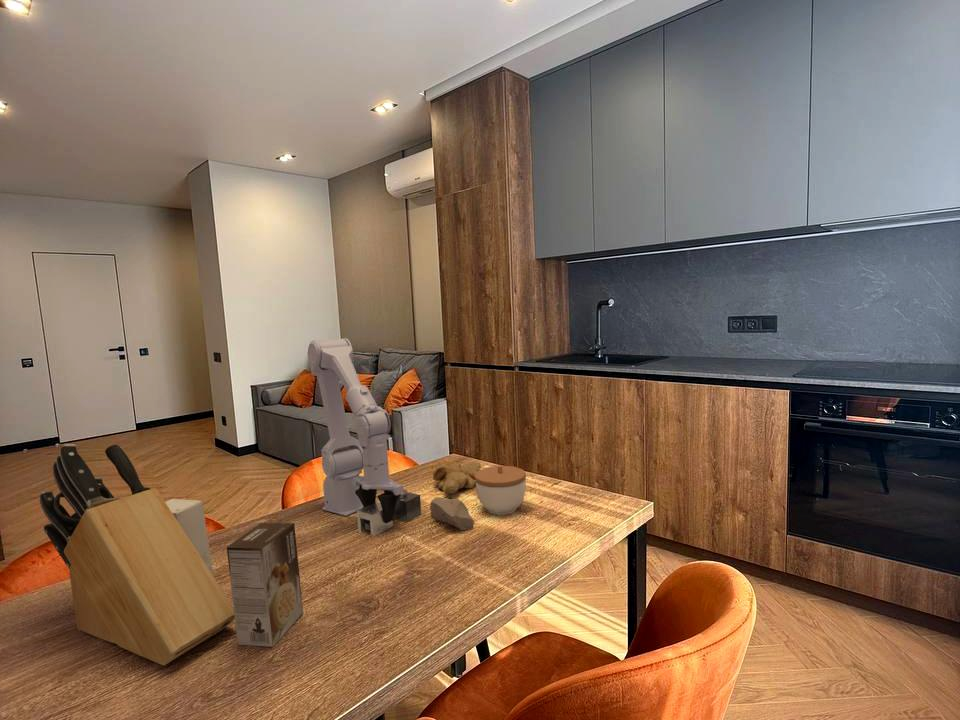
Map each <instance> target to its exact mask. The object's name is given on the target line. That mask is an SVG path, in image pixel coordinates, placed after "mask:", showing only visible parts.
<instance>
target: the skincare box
mask: <svg viewBox="0 0 960 720" xmlns="http://www.w3.org/2000/svg"><path fill="white" fill-rule="evenodd" d="M203 502H204V501H203V500H196V499H194V500H193V499H180V498H179V499H177V498H171V499H168V500H166V501H165V503H166V504H167V506H168V507H169V509H170V510H171V512H172V514H173V515H174V517H175V518H176V520H177V521H178V523H179V524H180V526H181V527H182V529H183V530H184V532H185V533H186V535H187V537H188V538H189V540H190V541H191V543H192V544H193V546H194V547H195V549H196V550H197V552H198V553H199V555H200V556H201V558H202V560H203V561H204V563H205V564H206V566H207V567H208V569H209V571H210V572H211V574H212V575H213V574H214V571H213V564H212V556H211V552H210V551H211V550H210V545H209V536H208V529H207V525H206V524H207V522H206V517H205V511H204V503H203ZM213 576H214V575H213Z"/></svg>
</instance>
